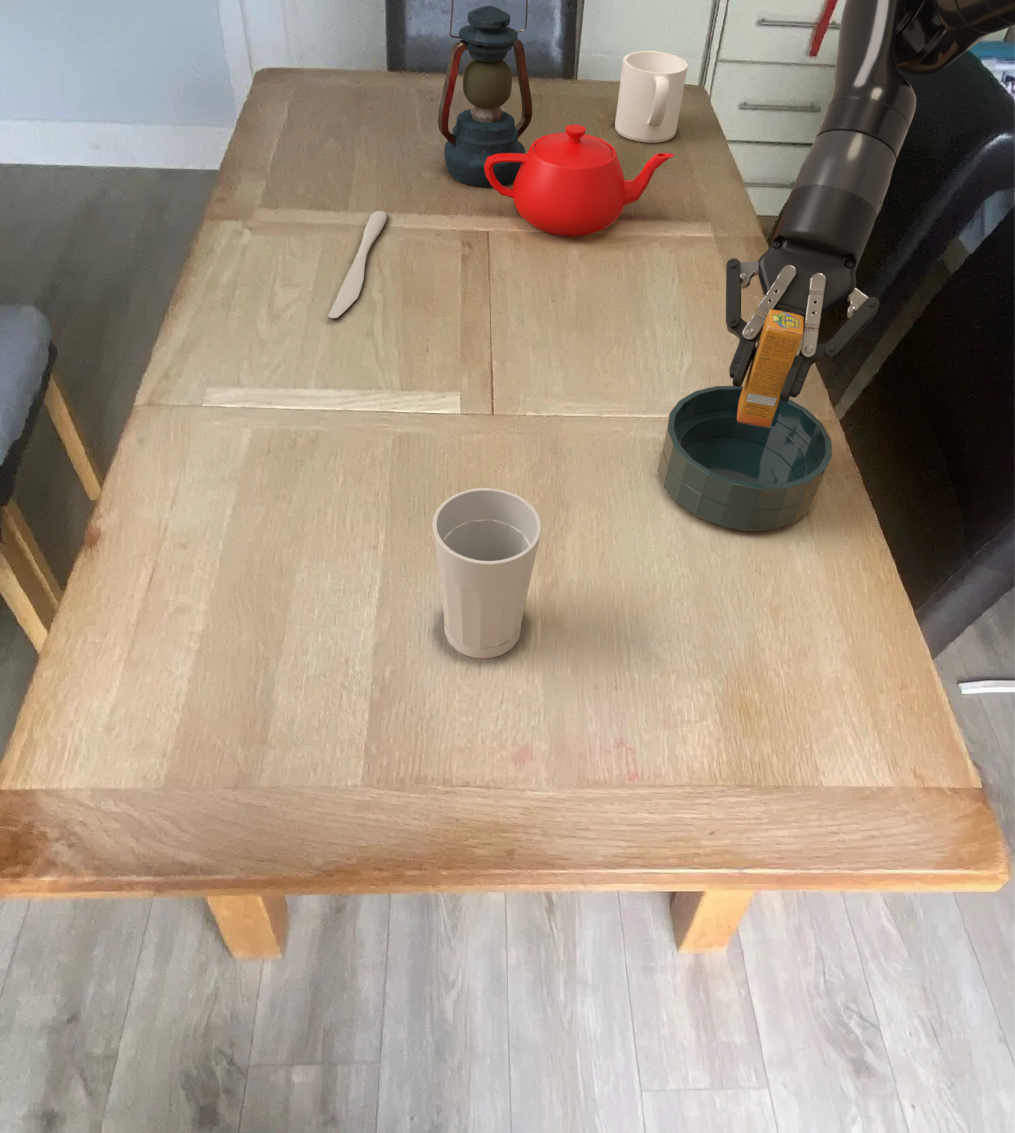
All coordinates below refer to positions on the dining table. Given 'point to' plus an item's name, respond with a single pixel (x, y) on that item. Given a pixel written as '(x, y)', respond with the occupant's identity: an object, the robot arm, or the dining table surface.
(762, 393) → the supplement box
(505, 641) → the cup
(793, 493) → the bowl
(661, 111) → the mug
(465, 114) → the lantern
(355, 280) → the butter knife
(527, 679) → the dining table surface
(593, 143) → the teapot
